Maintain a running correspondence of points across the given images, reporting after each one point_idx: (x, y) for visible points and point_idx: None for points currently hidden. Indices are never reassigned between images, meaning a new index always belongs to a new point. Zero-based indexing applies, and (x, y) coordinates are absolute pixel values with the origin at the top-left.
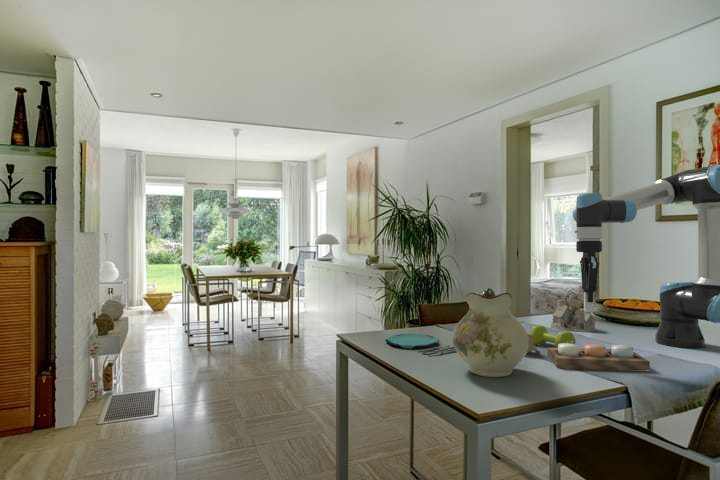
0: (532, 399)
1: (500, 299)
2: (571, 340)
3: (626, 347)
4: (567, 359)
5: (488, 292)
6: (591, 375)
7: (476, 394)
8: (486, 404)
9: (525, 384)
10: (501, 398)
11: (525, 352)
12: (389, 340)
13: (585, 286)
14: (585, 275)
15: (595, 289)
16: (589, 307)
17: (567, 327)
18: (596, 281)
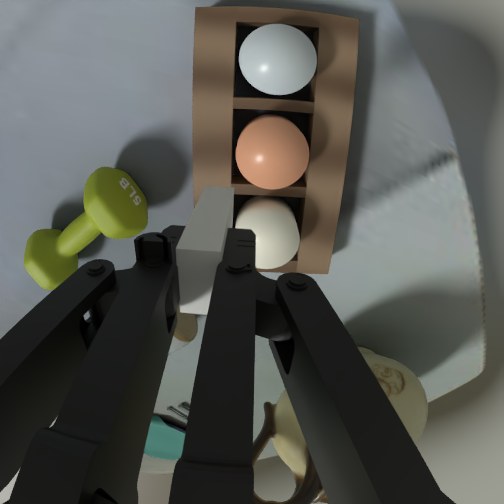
0: (474, 327)
1: None
2: (121, 187)
3: (284, 46)
4: (332, 248)
5: None
6: (389, 199)
7: (437, 380)
8: (468, 369)
9: (420, 331)
10: (459, 358)
11: (404, 366)
12: (175, 457)
13: (170, 336)
14: (144, 433)
15: (315, 291)
16: (230, 226)
17: None
18: (354, 351)
